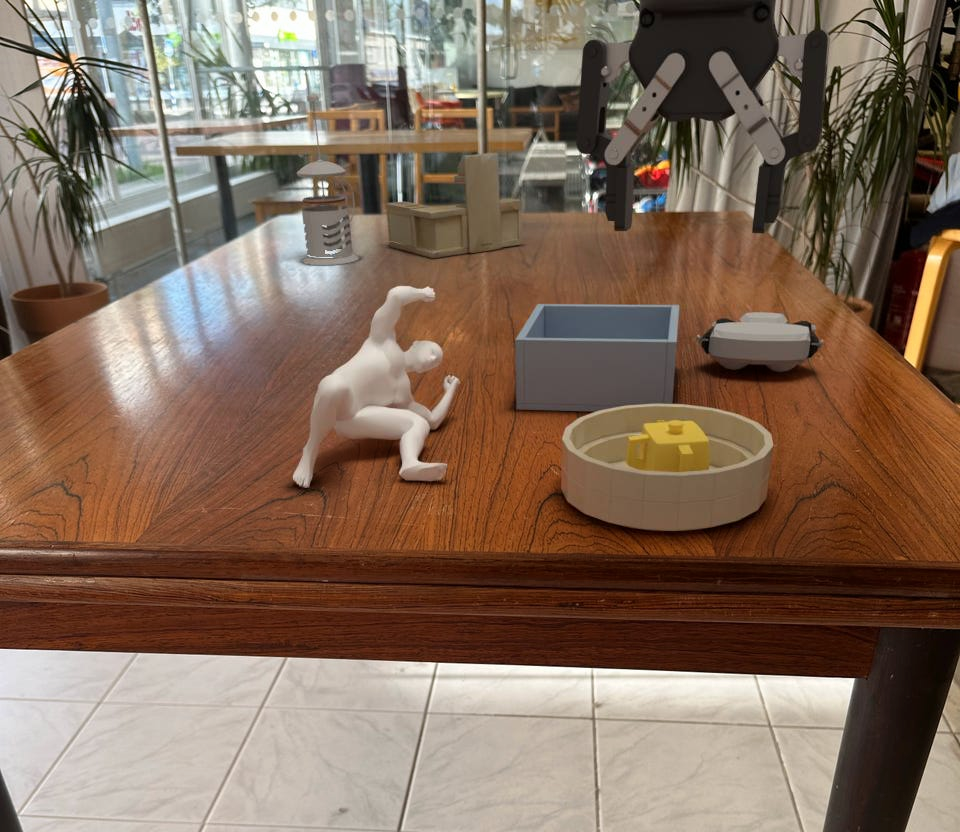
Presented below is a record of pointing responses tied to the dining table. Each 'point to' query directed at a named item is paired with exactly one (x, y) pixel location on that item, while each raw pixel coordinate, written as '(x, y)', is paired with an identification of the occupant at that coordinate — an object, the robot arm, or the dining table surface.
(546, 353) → the bin
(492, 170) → the toy kitchen set
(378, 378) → the person figurine
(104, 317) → the dining table surface
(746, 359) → the robot toy
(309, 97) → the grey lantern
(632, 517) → the bowl
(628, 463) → the teapot
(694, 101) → the robot arm
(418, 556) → the dining table surface
